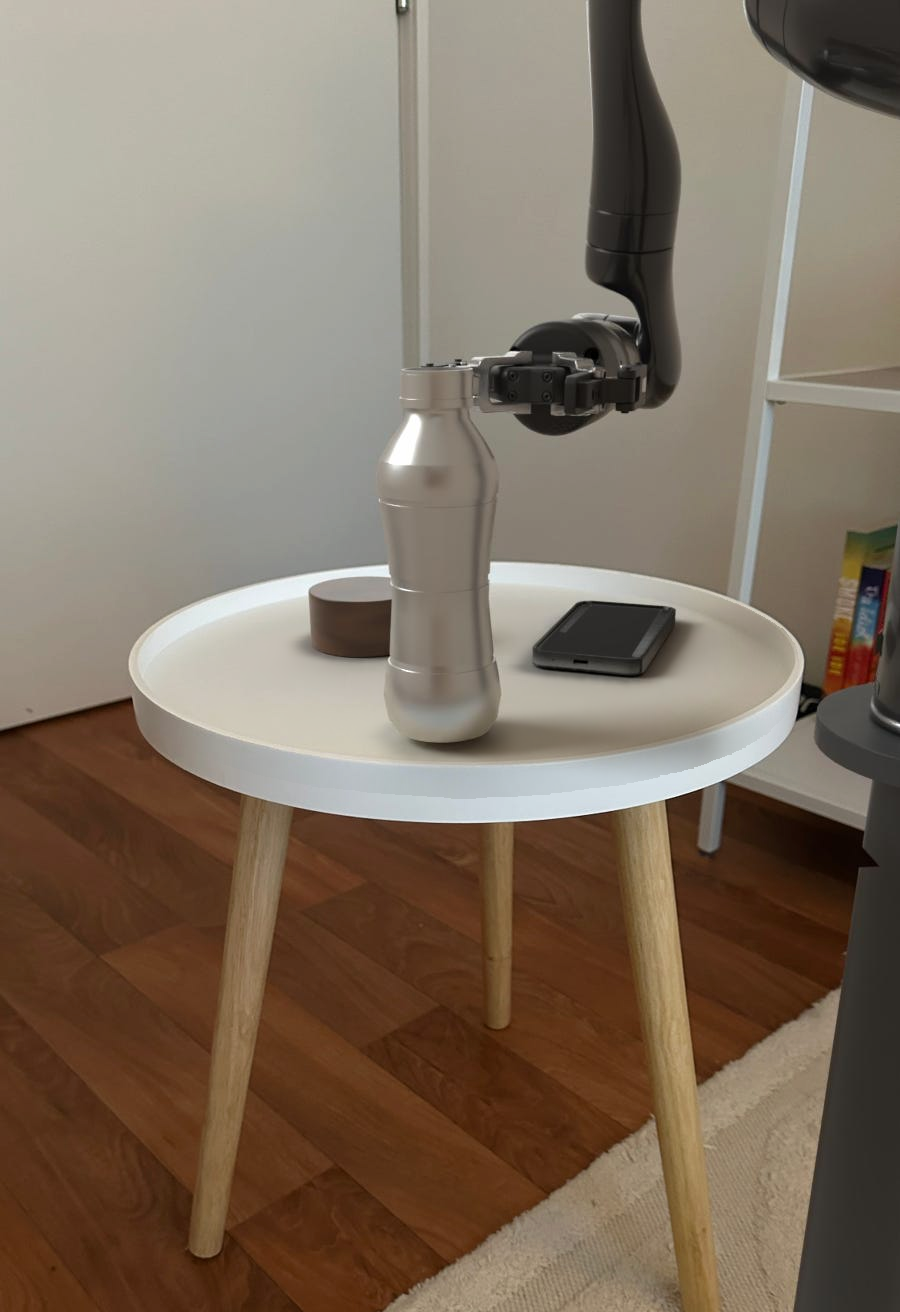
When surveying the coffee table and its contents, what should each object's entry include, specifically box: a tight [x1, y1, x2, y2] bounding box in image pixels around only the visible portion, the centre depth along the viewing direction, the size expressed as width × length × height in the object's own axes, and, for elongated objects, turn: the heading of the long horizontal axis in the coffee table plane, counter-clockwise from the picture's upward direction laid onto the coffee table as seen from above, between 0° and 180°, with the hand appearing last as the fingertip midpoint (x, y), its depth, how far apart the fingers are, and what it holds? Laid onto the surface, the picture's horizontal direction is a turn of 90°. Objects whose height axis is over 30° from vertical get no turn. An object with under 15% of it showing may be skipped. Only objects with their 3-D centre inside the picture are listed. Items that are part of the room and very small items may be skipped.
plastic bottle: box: [374, 366, 502, 743], centre depth 63 cm, size 6×7×20 cm
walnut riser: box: [308, 575, 392, 658], centre depth 85 cm, size 8×8×4 cm
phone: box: [531, 600, 677, 676], centre depth 84 cm, size 8×1×15 cm
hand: (501, 394), depth 70 cm, fingers open, 8 cm apart
